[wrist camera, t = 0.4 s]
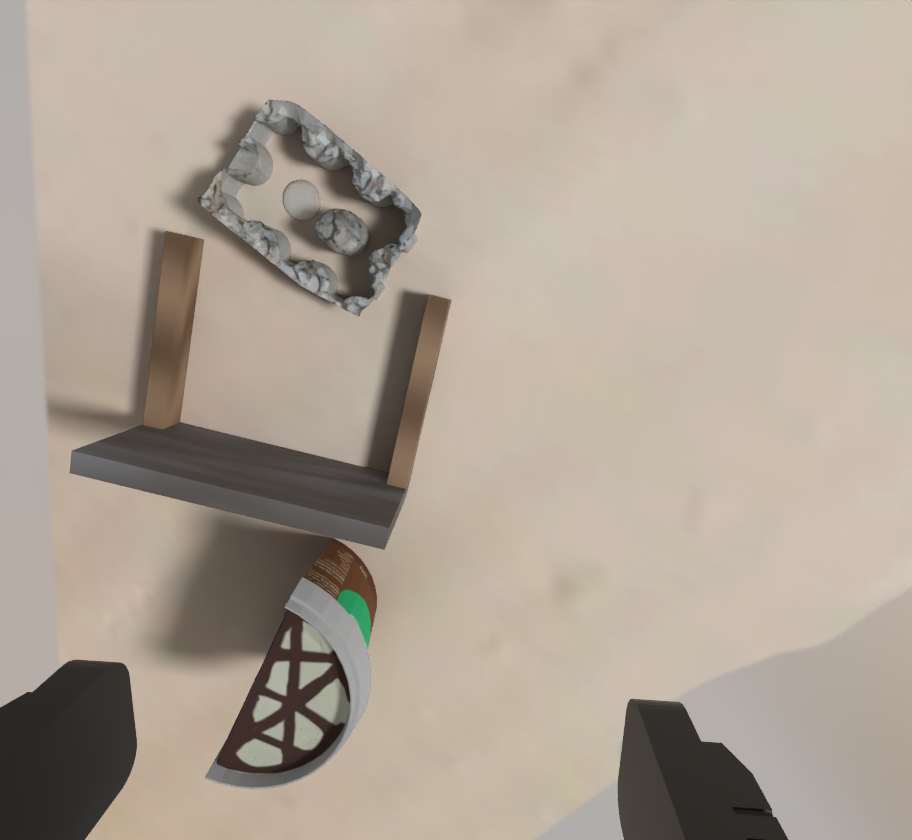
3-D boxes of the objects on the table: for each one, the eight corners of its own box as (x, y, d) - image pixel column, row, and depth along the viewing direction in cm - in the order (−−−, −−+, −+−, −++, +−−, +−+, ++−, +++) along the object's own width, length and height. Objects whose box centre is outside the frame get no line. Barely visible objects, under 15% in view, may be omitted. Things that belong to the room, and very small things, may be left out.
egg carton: (220, 210, 34) (183, 197, 30) (293, 101, 32) (265, 73, 28) (361, 325, 34) (344, 328, 30) (438, 225, 33) (431, 214, 29)
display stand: (184, 235, 34) (92, 215, 26) (451, 300, 34) (441, 300, 26) (159, 435, 36) (69, 472, 28) (406, 495, 36) (384, 549, 28)
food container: (350, 702, 40) (306, 833, 30) (271, 665, 39) (200, 785, 30) (425, 558, 37) (404, 651, 27) (340, 518, 37) (288, 597, 27)
